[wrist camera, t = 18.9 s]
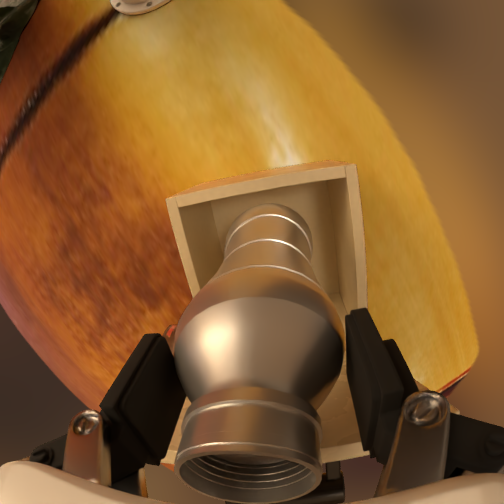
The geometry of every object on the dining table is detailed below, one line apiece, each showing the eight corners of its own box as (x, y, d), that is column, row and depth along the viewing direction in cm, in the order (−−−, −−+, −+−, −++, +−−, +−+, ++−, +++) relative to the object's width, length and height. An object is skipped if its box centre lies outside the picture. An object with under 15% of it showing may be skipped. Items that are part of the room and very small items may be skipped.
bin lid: (105, 439, 10) (134, 515, 9) (460, 410, 8) (445, 497, 7) (214, 366, 29) (222, 411, 28) (367, 345, 26) (371, 393, 25)
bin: (200, 183, 35) (164, 199, 23) (329, 159, 32) (356, 163, 21) (231, 310, 40) (216, 366, 29) (345, 293, 38) (367, 347, 27)
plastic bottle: (325, 230, 23) (434, 452, 5) (274, 288, 25) (263, 524, 7) (263, 181, 22) (202, 337, 4) (214, 244, 24) (92, 457, 6)
